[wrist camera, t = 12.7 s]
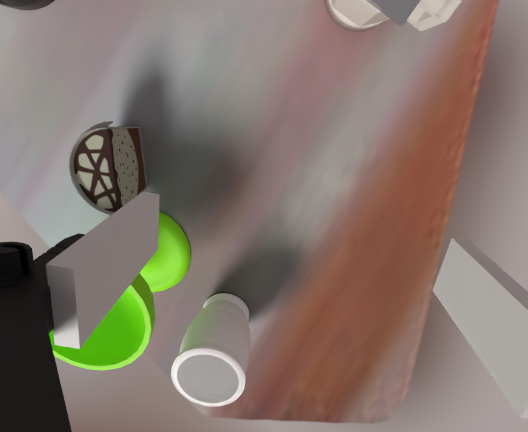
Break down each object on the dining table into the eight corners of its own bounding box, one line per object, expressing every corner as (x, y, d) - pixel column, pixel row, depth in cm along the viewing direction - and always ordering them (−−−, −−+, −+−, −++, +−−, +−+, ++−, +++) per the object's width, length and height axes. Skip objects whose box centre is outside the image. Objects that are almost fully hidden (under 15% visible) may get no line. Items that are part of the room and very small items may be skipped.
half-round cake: (97, 115, 51) (54, 122, 41) (138, 115, 50) (104, 123, 41) (111, 195, 55) (74, 218, 46) (148, 196, 55) (120, 219, 45)
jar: (186, 299, 61) (156, 363, 47) (237, 278, 59) (221, 339, 45) (215, 343, 64) (195, 416, 50) (265, 325, 62) (258, 395, 48)
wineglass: (188, 297, 61) (150, 378, 44) (99, 284, 61) (28, 360, 45) (193, 213, 55) (151, 270, 38) (95, 199, 56) (11, 249, 39)
